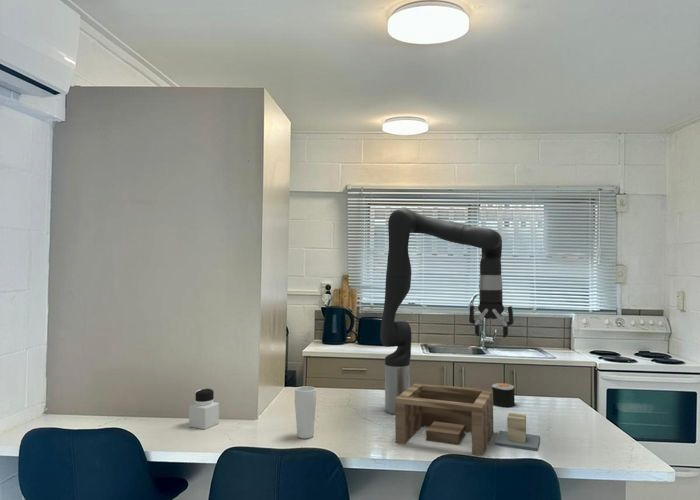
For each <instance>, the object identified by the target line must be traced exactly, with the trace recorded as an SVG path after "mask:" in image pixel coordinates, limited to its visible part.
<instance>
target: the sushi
mask: <svg viewBox="0 0 700 500" xmlns="http://www.w3.org/2000/svg"><path fill="white" fill-rule="evenodd" d="M491 390H493V406H495V407H500V408H506V409H507V408H509V409H510V408H514V407H515V406H516V405H515V404H516V402H515V399H516V398H515V386H514V385H512V384H510V383H504V382H500V383H498V382H497V383H493V384H492V385H491Z"/></svg>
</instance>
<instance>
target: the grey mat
mask: <svg viewBox="0 0 700 500" xmlns="http://www.w3.org/2000/svg"><path fill="white" fill-rule="evenodd" d="M539 444H540V435H537V434H530V433H526V440H525V443H523V442H516V441H508V435H507V430H499V431H498V433H497V437H496V439H495V441H494V446H497V447H498V446H499V447H506V448H513V449H519V450H527V451H528V450H529V451H534V452H537V451H538V448H539Z"/></svg>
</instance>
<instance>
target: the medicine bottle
mask: <svg viewBox="0 0 700 500" xmlns="http://www.w3.org/2000/svg"><path fill="white" fill-rule="evenodd" d="M194 402H195V403H193V404H190V405H189V406H188V427H189V428H195V429H200V430H208V429H209V428H212V427H214V426H216V425H218V424H220V403H219V402H215V401H214V390H213V389H211V388H200V389H198V390H196V391H195V392H194Z"/></svg>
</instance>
